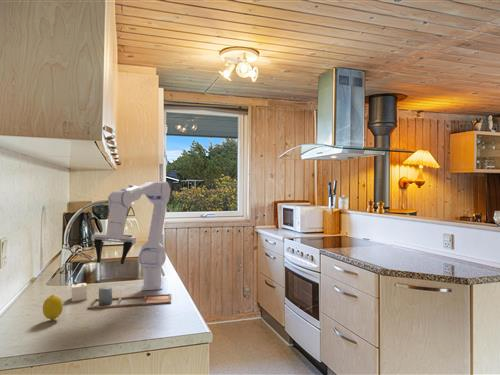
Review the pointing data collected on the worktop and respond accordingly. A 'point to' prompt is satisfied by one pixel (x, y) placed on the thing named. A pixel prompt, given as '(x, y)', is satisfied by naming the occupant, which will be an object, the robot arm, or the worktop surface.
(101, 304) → the grey rounded cylinder
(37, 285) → the worktop surface
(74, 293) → the die
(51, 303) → the lemon
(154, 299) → the board
